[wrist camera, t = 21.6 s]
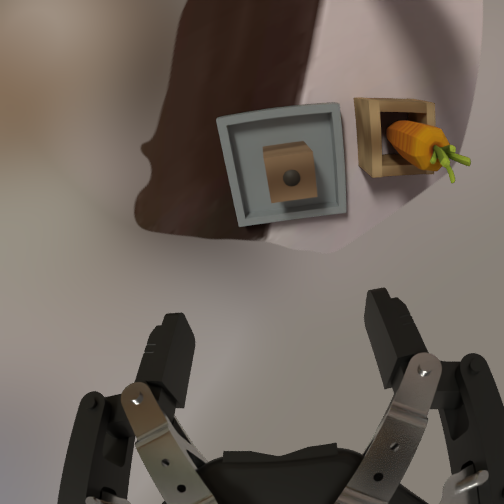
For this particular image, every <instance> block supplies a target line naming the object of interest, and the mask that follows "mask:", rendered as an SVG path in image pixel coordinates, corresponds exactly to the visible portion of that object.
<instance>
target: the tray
mask: <svg viewBox="0 0 504 504" xmlns="http://www.w3.org/2000/svg"><path fill="white" fill-rule="evenodd" d="M216 121H217V126H218V131H219V136H220V140H221V145H222V150H223V155H224V159H225V164H226V169H227V173H228V178H229V183H230V187H231V192H232V196H233V201H234V206H235V210H236V215H237V220H238V224H239V227H242V226H249V225H256V224H263V223H270V222H277V221H285V220H292V219H300V218H308V217H315V216H323V215H331V214H340V213H346V183H345V163H344V148H343V136H342V125H341V115H340V106H339V103H335V102H333V103H317V104H305V105H295V106H286V107H278V108H270V109H263V110H256V111H250V112H244V113H238V114H232V115H227V116H222V117H218V118H217V119H216ZM299 141H304V142H305V143H306V144H307V145H308V147H309V148H310V149H311V150H312V151H313V157H314V166H315V176H316V186H317V196H318V197H313V198H305V199H298V200H291V201H284V202H277V203H271V199H270V193H269V187H268V181H267V175H266V170H265V164H264V158H263V146H270V145H276V144H283V143H291V142H299Z"/></svg>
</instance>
